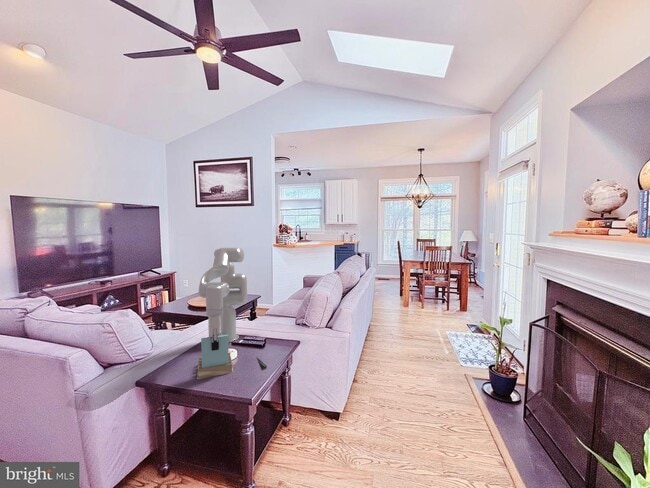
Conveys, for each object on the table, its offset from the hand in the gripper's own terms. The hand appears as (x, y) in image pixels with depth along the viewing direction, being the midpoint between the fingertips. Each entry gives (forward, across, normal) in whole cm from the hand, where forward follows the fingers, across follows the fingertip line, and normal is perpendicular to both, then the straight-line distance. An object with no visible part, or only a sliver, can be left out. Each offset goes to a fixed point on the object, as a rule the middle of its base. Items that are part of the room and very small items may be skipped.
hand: (215, 348), depth 133 cm
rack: (+13, -5, 0) cm, 14 cm away
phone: (+14, -4, +19) cm, 24 cm away
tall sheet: (+10, 0, 0) cm, 10 cm away
